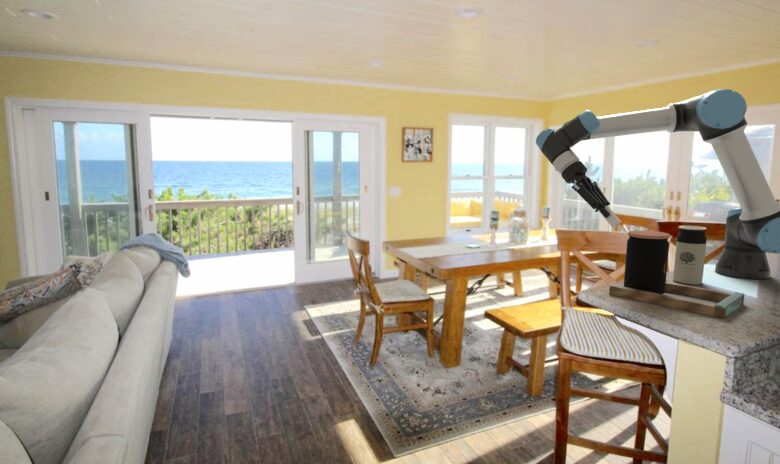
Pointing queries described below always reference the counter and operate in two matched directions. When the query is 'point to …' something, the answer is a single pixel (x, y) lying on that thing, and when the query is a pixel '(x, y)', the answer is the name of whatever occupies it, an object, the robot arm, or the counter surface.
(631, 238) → the coffee jar
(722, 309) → the bay
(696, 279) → the travel mug
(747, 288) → the counter surface
